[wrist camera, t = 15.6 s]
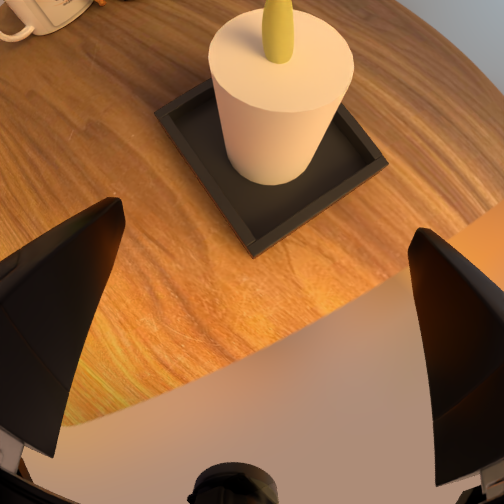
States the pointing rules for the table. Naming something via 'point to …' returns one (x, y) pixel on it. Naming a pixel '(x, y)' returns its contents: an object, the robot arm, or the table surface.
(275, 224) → the shallow square tray
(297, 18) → the candle
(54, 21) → the mug
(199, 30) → the table surface
